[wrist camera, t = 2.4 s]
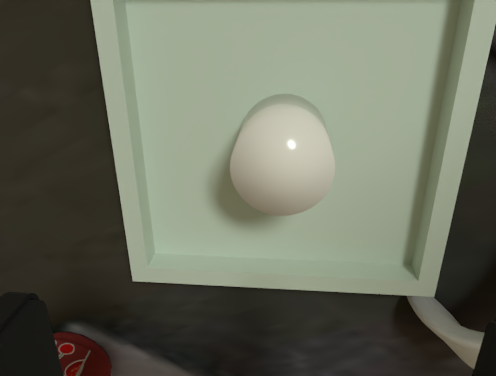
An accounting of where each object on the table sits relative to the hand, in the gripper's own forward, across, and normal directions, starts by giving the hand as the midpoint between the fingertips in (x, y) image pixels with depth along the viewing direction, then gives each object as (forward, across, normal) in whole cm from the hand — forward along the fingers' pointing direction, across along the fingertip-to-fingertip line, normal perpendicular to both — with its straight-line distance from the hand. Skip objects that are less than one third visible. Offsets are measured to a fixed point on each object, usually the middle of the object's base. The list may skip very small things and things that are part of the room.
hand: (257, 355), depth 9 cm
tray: (+15, 0, 0) cm, 15 cm away
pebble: (+14, 0, 0) cm, 14 cm away
